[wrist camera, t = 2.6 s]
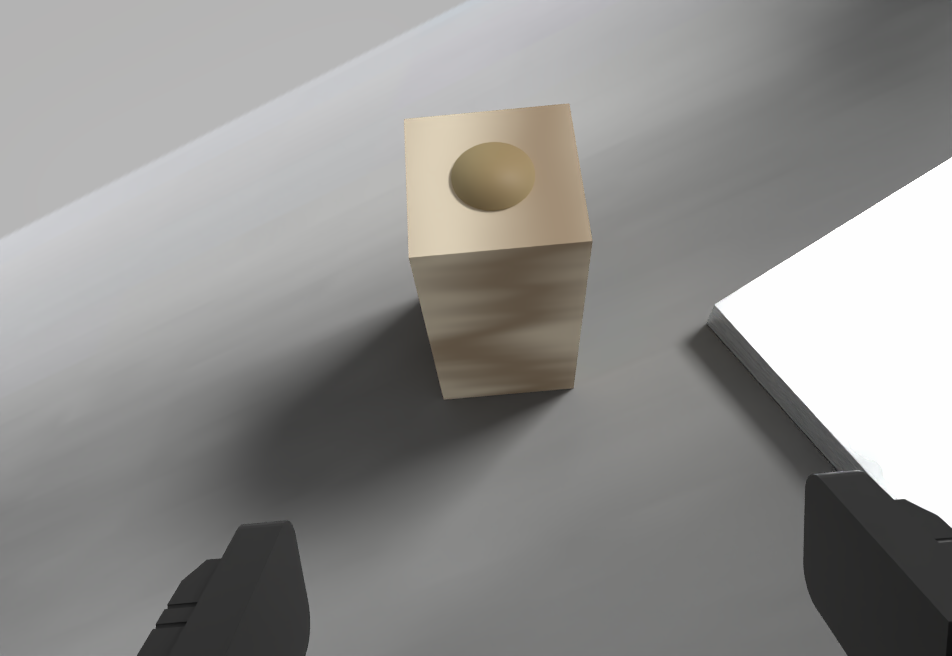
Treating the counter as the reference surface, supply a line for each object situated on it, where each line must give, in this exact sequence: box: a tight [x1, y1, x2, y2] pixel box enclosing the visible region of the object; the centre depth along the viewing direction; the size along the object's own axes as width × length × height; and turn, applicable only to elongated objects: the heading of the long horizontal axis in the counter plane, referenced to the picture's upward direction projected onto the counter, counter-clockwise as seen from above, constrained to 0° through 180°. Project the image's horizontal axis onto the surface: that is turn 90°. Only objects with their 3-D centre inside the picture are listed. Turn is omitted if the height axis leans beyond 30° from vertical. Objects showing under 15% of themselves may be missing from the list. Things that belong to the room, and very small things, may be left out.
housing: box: [404, 104, 592, 400], centre depth 27 cm, size 5×5×10 cm
